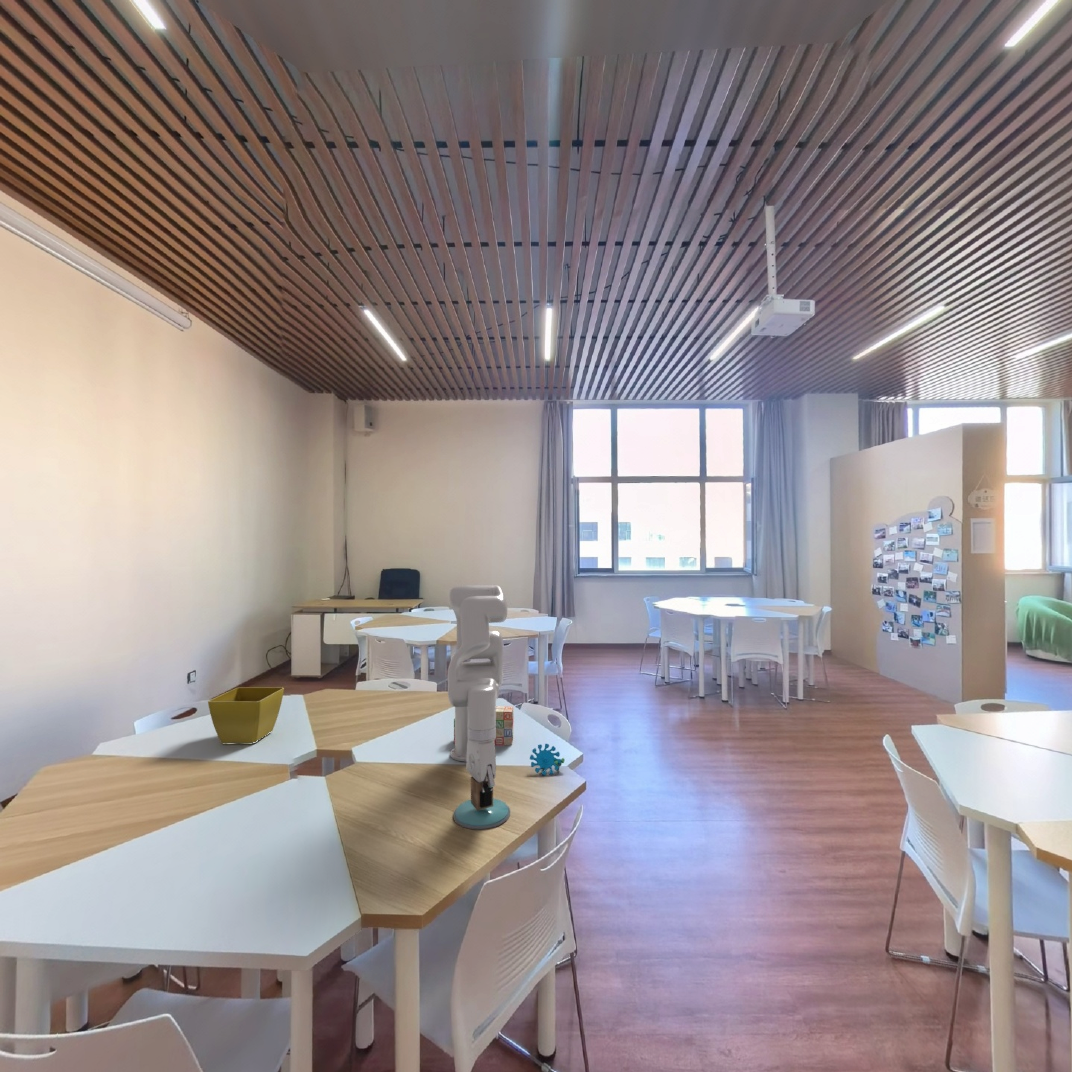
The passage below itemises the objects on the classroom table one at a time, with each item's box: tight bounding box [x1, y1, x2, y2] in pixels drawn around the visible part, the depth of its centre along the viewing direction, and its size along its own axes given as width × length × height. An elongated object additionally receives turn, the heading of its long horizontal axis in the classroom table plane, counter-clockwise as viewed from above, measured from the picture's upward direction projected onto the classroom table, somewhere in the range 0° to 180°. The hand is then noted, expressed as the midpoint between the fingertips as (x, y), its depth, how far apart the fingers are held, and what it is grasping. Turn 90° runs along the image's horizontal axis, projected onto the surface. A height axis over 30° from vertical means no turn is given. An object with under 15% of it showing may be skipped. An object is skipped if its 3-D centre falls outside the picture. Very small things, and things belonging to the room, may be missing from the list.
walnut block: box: [470, 776, 494, 810], centre depth 139 cm, size 4×4×7 cm
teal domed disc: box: [453, 797, 511, 831], centre depth 139 cm, size 15×15×1 cm
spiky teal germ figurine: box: [529, 743, 565, 777], centre depth 168 cm, size 11×6×10 cm
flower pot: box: [207, 686, 285, 744], centre depth 197 cm, size 19×19×17 cm
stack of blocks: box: [453, 705, 514, 746], centre depth 192 cm, size 21×6×12 cm, turn 88°
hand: (481, 801), depth 139 cm, fingers closed on walnut block, 4 cm apart
